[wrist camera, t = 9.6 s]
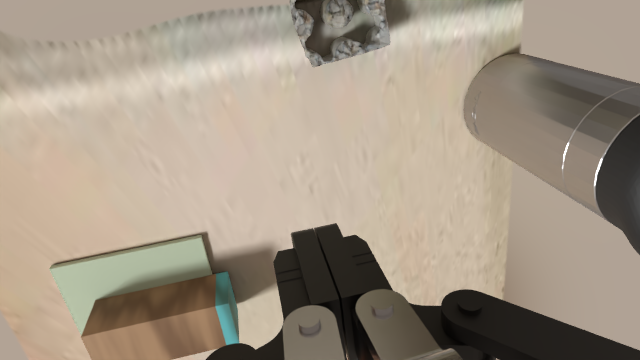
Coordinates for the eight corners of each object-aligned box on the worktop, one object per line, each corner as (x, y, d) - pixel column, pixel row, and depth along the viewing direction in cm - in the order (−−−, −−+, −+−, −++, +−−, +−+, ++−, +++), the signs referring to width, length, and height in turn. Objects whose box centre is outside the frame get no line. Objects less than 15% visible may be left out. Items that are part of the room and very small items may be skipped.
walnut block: (228, 303, 41) (80, 337, 39) (239, 343, 43) (99, 376, 41) (227, 271, 45) (95, 300, 43) (237, 308, 47) (111, 337, 46)
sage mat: (201, 234, 43) (201, 237, 43) (230, 339, 50) (230, 343, 49) (51, 265, 42) (49, 269, 41) (101, 370, 48) (99, 374, 47)
